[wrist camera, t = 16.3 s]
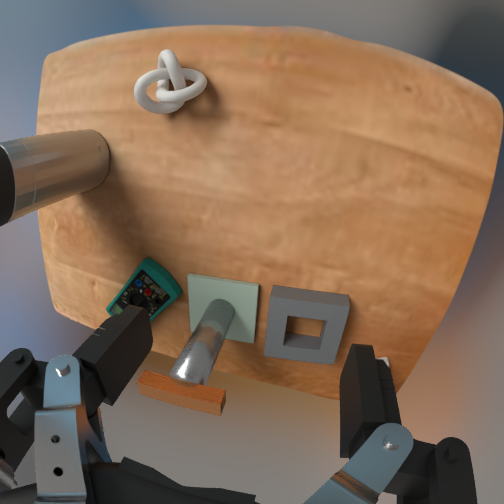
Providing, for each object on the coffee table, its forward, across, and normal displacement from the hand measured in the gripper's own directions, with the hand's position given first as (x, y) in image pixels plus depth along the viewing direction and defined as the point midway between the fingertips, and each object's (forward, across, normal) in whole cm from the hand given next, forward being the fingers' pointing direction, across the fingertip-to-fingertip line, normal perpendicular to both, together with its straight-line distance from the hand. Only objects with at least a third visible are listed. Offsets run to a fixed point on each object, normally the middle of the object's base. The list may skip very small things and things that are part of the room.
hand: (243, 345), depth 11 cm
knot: (+26, +15, -13) cm, 33 cm away
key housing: (+26, -4, +17) cm, 31 cm away
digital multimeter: (+27, +22, +18) cm, 39 cm away
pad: (+26, +8, +17) cm, 32 cm away
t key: (+25, +8, +17) cm, 31 cm away
